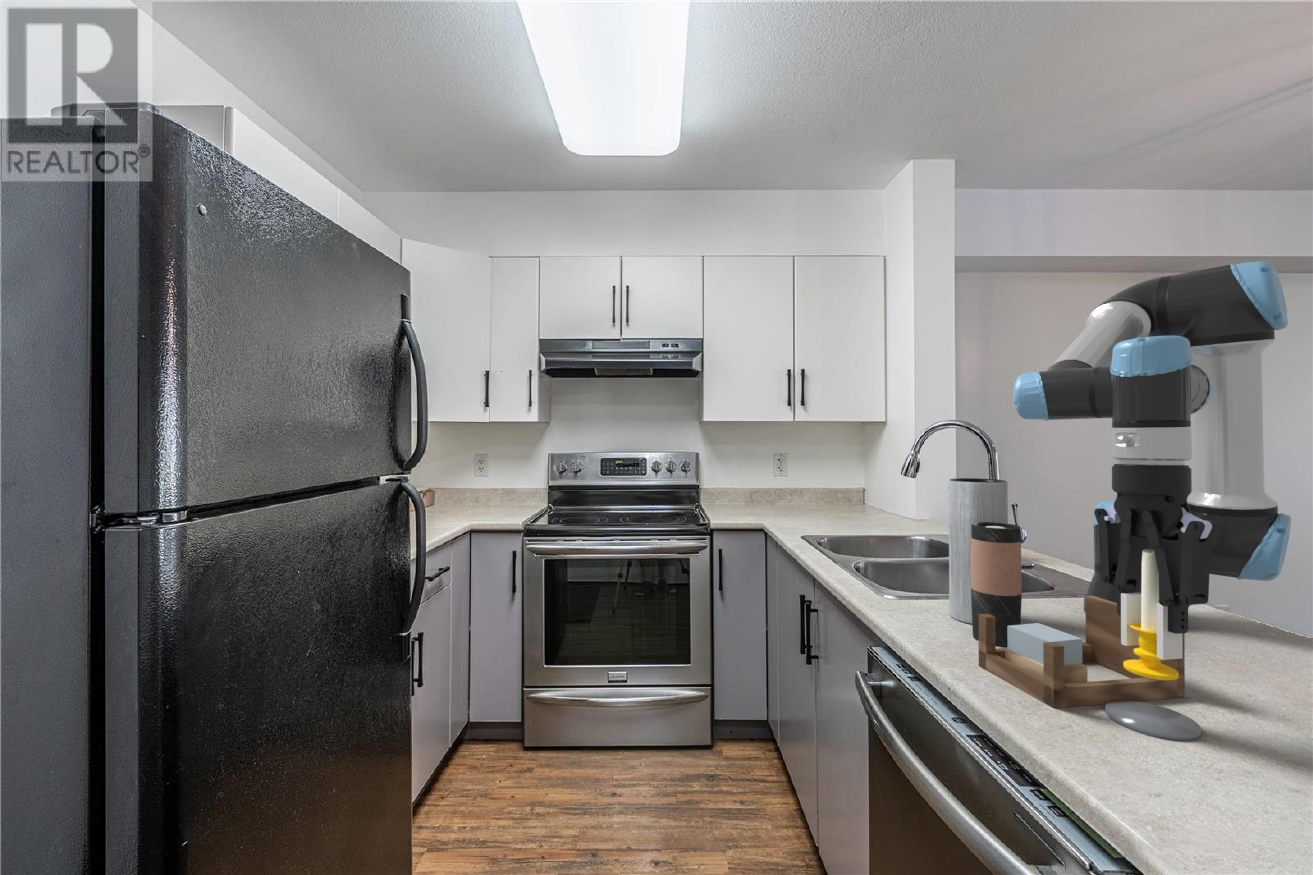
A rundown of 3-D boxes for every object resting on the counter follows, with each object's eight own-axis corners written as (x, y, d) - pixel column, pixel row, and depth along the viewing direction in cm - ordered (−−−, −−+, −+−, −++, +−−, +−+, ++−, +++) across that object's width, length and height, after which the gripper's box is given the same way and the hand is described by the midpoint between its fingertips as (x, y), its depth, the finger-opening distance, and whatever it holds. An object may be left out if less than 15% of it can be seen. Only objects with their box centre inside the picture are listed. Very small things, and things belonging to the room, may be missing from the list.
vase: (1020, 622, 109) (1019, 480, 109) (983, 629, 105) (982, 482, 105) (973, 608, 118) (972, 477, 118) (937, 614, 115) (937, 479, 115)
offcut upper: (1038, 646, 87) (1038, 622, 87) (1082, 663, 80) (1082, 638, 80) (1007, 649, 86) (1007, 625, 86) (1049, 667, 79) (1049, 642, 79)
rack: (1092, 658, 92) (1092, 595, 92) (1184, 697, 78) (1184, 623, 78) (978, 665, 89) (978, 601, 89) (1053, 707, 75) (1053, 631, 75)
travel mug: (1029, 649, 96) (1029, 529, 96) (979, 645, 97) (979, 528, 97) (1011, 633, 103) (1010, 522, 103) (965, 630, 105) (964, 521, 105)
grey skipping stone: (1146, 702, 76) (1146, 697, 76) (1222, 737, 68) (1222, 732, 68) (1087, 707, 75) (1087, 702, 75) (1156, 743, 66) (1156, 738, 66)
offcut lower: (1041, 671, 87) (1041, 645, 87) (1087, 695, 79) (1087, 666, 79) (1005, 673, 86) (1005, 647, 86) (1048, 697, 78) (1048, 668, 78)
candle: (1178, 684, 68) (1178, 552, 68) (1121, 672, 71) (1121, 546, 71) (1178, 671, 71) (1178, 546, 71) (1125, 660, 75) (1124, 541, 75)
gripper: (1065, 460, 79) (1066, 630, 79) (1197, 465, 62) (1198, 681, 62) (1113, 460, 80) (1113, 627, 80) (1255, 465, 64) (1256, 677, 63)
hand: (1150, 650), depth 71 cm, fingers closed on candle, 4 cm apart
